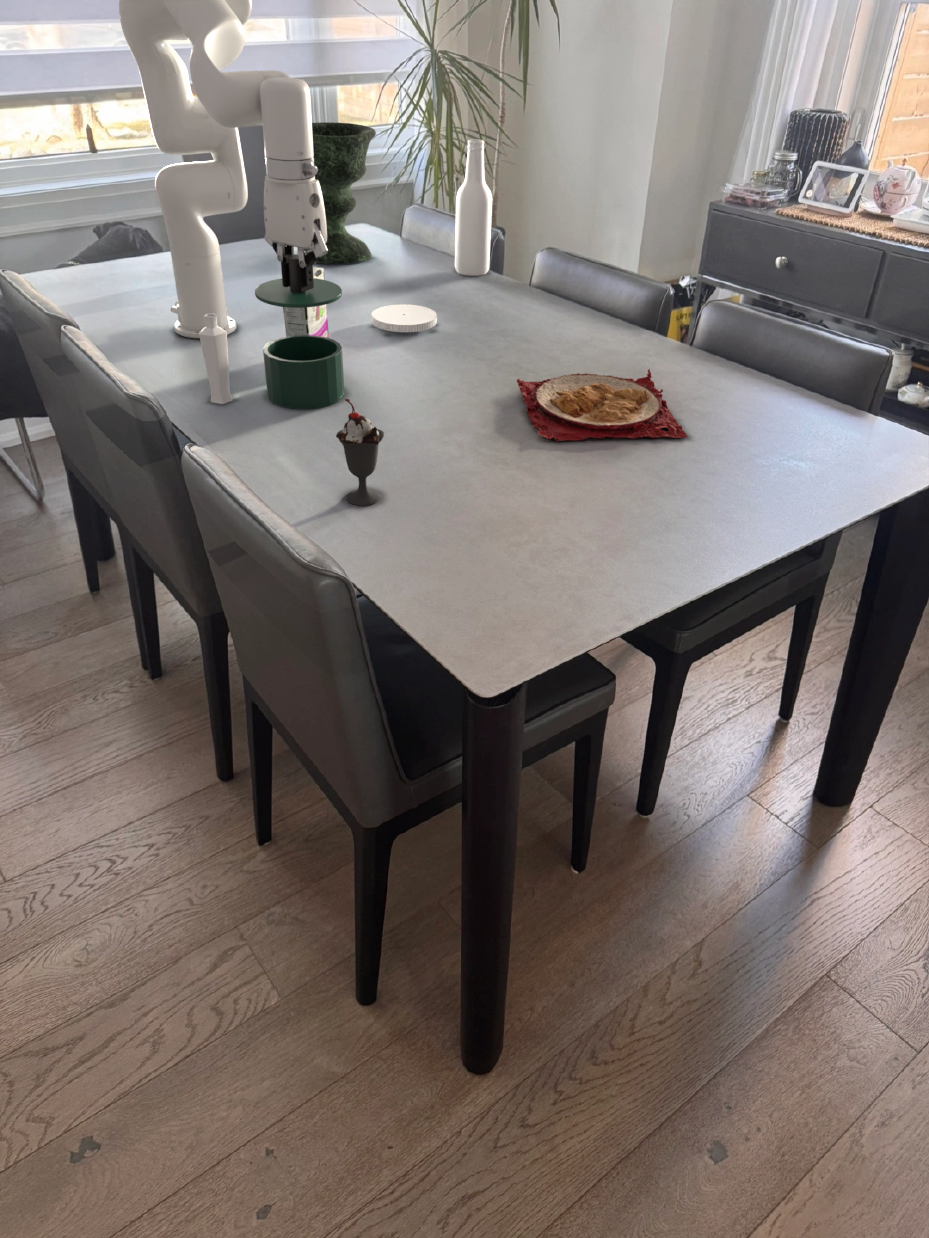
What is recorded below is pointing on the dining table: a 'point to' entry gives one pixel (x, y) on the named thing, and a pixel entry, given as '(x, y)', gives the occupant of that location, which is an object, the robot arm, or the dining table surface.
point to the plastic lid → (404, 318)
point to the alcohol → (473, 216)
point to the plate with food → (598, 408)
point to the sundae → (360, 454)
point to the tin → (304, 371)
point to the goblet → (340, 184)
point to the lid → (297, 290)
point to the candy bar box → (307, 317)
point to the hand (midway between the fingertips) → (298, 286)
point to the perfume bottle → (216, 359)
